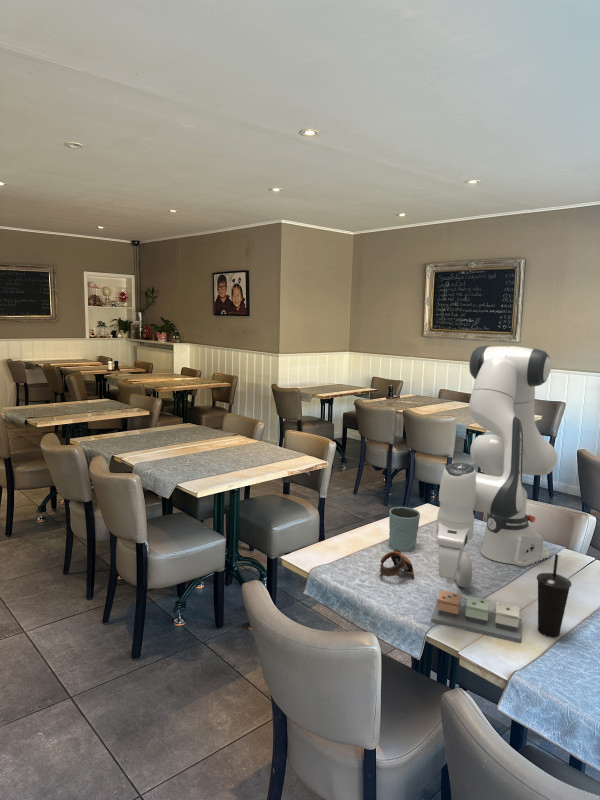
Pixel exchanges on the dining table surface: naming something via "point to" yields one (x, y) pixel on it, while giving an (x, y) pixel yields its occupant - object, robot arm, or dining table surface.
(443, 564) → the robot arm
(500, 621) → the cream tile
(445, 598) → the terracotta tile
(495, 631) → the board
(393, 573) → the brown rounded piece
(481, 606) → the sage tile
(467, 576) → the donut
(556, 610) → the drinking cup
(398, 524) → the green cylindrical pot
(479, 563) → the dining table surface
